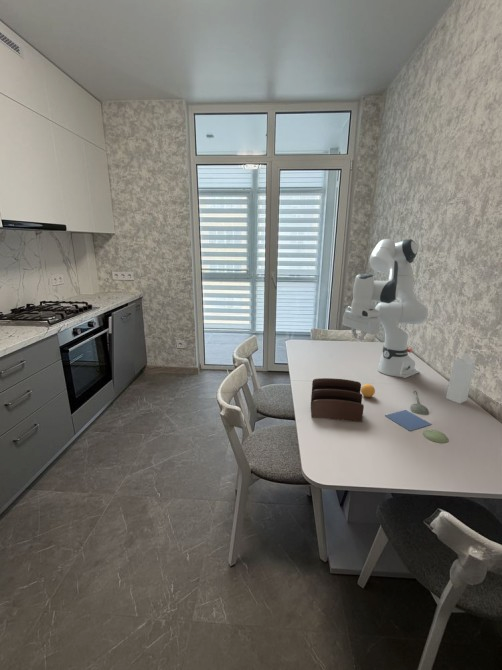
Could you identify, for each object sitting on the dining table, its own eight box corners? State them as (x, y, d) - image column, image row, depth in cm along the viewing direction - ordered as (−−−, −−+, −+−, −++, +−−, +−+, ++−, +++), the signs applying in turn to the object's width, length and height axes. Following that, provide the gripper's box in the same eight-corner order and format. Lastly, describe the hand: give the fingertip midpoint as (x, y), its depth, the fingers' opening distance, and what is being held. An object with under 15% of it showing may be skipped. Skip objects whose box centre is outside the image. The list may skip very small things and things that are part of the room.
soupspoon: (410, 415, 130) (427, 419, 127) (412, 408, 128) (429, 412, 126) (407, 392, 149) (422, 395, 146) (409, 386, 148) (424, 389, 145)
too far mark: (432, 428, 118) (432, 427, 118) (453, 439, 111) (453, 439, 111) (418, 432, 115) (418, 432, 115) (438, 445, 108) (438, 444, 108)
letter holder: (310, 406, 134) (312, 376, 130) (357, 410, 131) (361, 379, 127) (311, 418, 125) (313, 386, 121) (362, 423, 122) (366, 390, 118)
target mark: (405, 410, 131) (405, 409, 131) (431, 424, 121) (431, 424, 121) (384, 415, 127) (384, 415, 127) (409, 431, 116) (409, 430, 116)
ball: (367, 392, 147) (368, 381, 145) (377, 398, 142) (378, 386, 140) (357, 394, 145) (359, 383, 143) (367, 400, 139) (368, 388, 138)
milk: (466, 401, 140) (477, 355, 134) (459, 404, 138) (470, 357, 131) (452, 395, 146) (462, 351, 139) (445, 398, 143) (455, 353, 137)
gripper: (340, 306, 149) (338, 333, 153) (372, 314, 131) (368, 345, 135) (350, 305, 152) (348, 332, 155) (383, 313, 134) (379, 344, 137)
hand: (357, 338), depth 145 cm, fingers open, 3 cm apart
